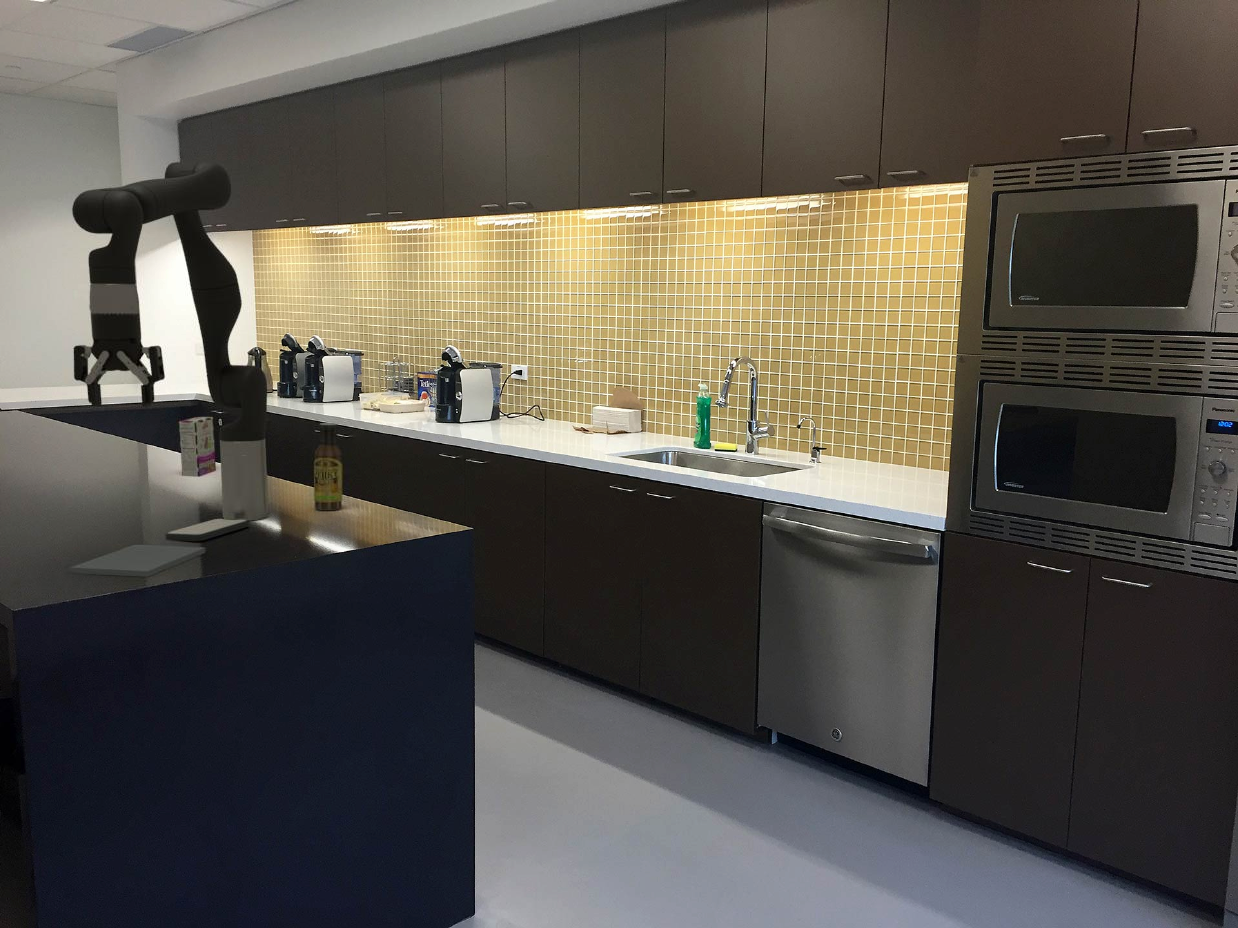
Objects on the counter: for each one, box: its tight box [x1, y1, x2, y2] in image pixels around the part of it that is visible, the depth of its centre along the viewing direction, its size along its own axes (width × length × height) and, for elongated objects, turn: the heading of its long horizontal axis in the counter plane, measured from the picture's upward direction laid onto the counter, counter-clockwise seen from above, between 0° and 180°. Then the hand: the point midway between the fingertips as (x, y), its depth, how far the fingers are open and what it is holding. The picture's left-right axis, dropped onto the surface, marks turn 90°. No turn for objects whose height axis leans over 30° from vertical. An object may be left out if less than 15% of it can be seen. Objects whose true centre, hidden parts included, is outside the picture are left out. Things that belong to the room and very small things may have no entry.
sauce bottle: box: [313, 422, 343, 511], centre depth 226 cm, size 6×6×20 cm
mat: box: [69, 544, 206, 578], centre depth 175 cm, size 18×14×1 cm
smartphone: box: [165, 518, 250, 542], centre depth 199 cm, size 9×2×16 cm
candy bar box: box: [178, 416, 217, 478], centre depth 268 cm, size 11×5×16 cm, turn 179°
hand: (121, 406), depth 170 cm, fingers open, 8 cm apart
